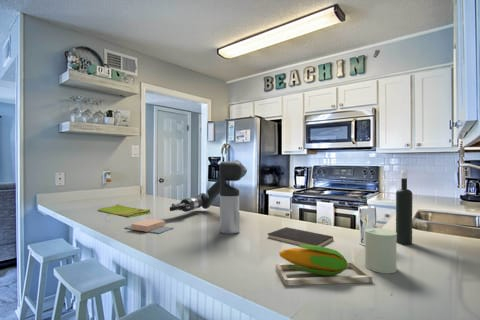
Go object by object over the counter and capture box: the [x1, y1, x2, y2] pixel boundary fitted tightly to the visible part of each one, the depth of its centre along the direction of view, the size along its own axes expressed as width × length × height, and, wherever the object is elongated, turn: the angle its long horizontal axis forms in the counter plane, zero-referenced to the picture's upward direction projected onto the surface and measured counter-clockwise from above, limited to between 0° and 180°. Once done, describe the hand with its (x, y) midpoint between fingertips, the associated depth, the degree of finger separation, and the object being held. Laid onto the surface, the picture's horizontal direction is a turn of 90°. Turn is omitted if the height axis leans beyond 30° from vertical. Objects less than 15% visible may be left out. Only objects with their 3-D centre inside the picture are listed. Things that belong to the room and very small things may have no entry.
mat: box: [124, 225, 174, 235], centre depth 132 cm, size 22×10×1 cm, turn 65°
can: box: [363, 227, 398, 274], centre depth 85 cm, size 9×9×12 cm
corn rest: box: [275, 261, 373, 286], centre depth 80 cm, size 25×11×2 cm, turn 95°
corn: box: [278, 245, 348, 277], centre depth 80 cm, size 7×8×20 cm
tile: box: [130, 218, 166, 233], centre depth 132 cm, size 10×3×12 cm
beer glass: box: [357, 205, 378, 247], centre depth 109 cm, size 7×7×15 cm
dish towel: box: [97, 204, 151, 218], centre depth 173 cm, size 15×36×3 cm, turn 57°
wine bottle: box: [395, 169, 413, 246], centre depth 110 cm, size 6×6×30 cm
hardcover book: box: [267, 227, 334, 247], centre depth 116 cm, size 16×23×2 cm
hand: (170, 209), depth 147 cm, fingers closed
